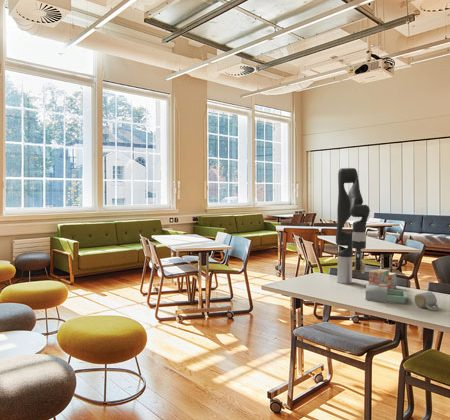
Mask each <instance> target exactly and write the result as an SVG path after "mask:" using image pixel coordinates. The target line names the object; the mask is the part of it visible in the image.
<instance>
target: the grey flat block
mask: <svg viewBox="0 0 450 420" xmlns="http://www.w3.org/2000/svg"><path fill="white" fill-rule="evenodd" d="M386 287H387V286H386ZM365 300H367V301H375V302H385V303H386V302H387V292H384V291H379V286H377V285H369V284H366V286H365ZM387 303H388V302H387Z"/></svg>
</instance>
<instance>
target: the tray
mask: <svg viewBox="0 0 450 420" xmlns="http://www.w3.org/2000/svg"><path fill="white" fill-rule="evenodd" d="M407 302H408V297H407V293H406V291H405V290H404V289H387V303H391V304H401V305H403V304H404V305H408V304H407Z"/></svg>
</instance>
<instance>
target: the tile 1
mask: <svg viewBox="0 0 450 420" xmlns="http://www.w3.org/2000/svg"><path fill="white" fill-rule="evenodd" d="M379 291H384V292H387V287H379Z"/></svg>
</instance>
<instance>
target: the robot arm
mask: <svg viewBox="0 0 450 420" xmlns="http://www.w3.org/2000/svg"><path fill="white" fill-rule="evenodd" d="M337 179H338V180H337V182H338V183H337V184H338V185H337V186H338V187H337V188H338V191H337V192H338V193H337V195H338V196H337V214H336V215H337V218H336V219H337V221H336V233H335V244H336V246H343V247H346V248H344V249H342V250H339V251H338V252H337V276H336V277H337V278H336V279H337V280H336V281H337V283H339V284H343V285H345V284H347V285H348V284H352V283H353V253H354V255H355V256H354V261H356V271H355V272H361V271H360V264H361V261H362V258H363V251H362V250H366V248H367V247H366V246H367V233H366V231H367V222H368V219H369V216H370V212H371V210H370V206H369V205H367V204H364V200H363V196H362V193H361V190H360V180H359V174H358V171H357V169H356V168H354V167H345V168H340V169H339V170H338V173H337ZM345 184H352V186H351V187H350V189H349V191H348V192H347V190H346V188H345ZM351 216H352V217H353V218H361V219H359V220H356V221H353V223H352V231H343V228H344V226H345V224H347V222H348V220H349V219H350V218H351ZM353 249H355V251H354V252H353Z"/></svg>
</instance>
